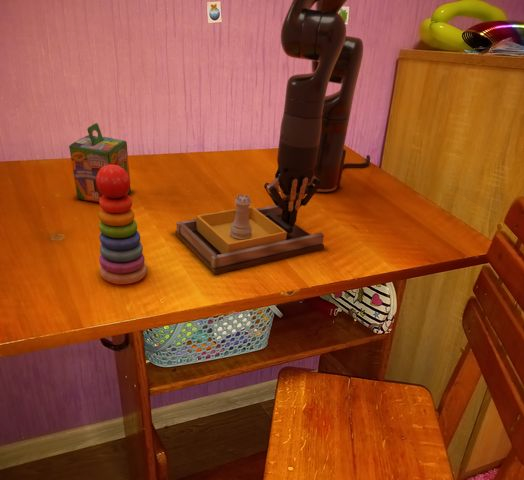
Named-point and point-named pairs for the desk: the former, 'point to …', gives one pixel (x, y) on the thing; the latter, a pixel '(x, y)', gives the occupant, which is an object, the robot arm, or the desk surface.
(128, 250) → the stacking toy
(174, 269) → the desk surface
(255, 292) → the desk surface
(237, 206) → the rook chess piece
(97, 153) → the chalk box
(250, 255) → the base
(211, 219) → the tray
